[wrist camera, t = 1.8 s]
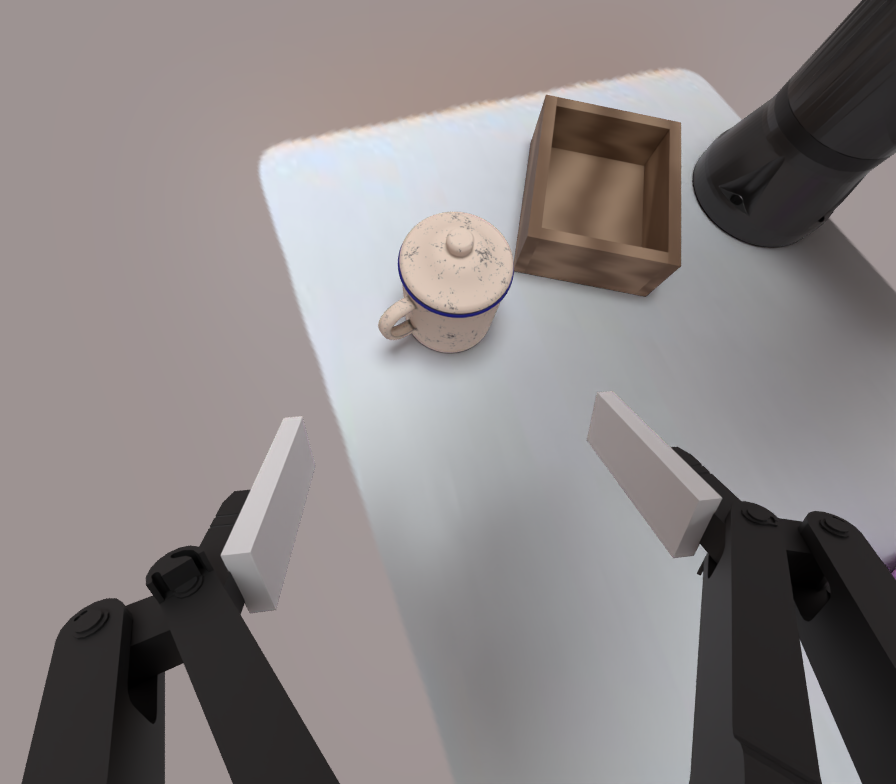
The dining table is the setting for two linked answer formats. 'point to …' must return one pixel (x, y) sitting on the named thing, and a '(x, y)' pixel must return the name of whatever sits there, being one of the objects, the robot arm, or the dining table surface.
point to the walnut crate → (601, 198)
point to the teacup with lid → (450, 282)
